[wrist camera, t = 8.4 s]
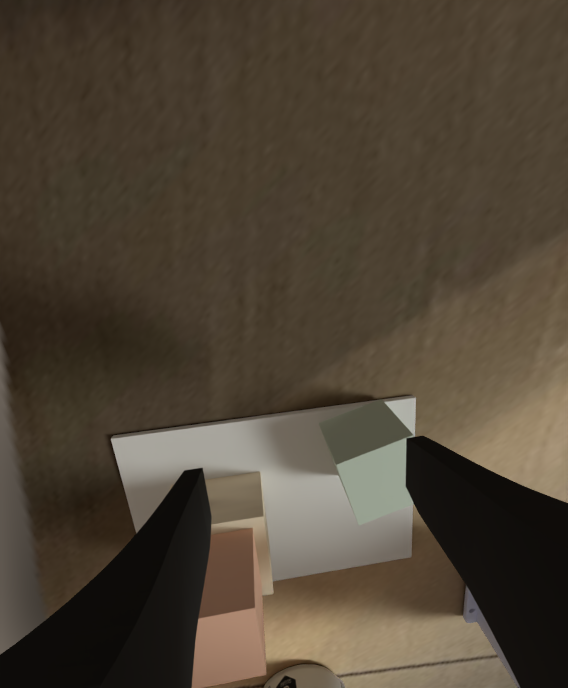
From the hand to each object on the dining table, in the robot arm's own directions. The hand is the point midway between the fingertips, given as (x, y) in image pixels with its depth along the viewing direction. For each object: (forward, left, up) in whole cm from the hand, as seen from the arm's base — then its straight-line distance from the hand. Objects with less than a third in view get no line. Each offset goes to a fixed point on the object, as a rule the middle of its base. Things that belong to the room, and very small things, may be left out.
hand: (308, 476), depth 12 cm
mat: (-10, +1, -10) cm, 14 cm away
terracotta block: (-10, +5, -6) cm, 13 cm away
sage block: (-6, -5, -10) cm, 12 cm away
